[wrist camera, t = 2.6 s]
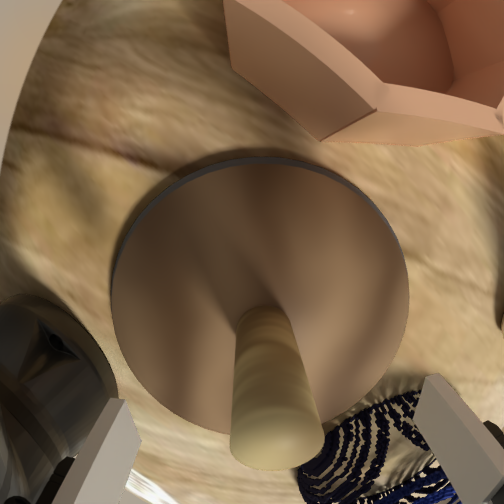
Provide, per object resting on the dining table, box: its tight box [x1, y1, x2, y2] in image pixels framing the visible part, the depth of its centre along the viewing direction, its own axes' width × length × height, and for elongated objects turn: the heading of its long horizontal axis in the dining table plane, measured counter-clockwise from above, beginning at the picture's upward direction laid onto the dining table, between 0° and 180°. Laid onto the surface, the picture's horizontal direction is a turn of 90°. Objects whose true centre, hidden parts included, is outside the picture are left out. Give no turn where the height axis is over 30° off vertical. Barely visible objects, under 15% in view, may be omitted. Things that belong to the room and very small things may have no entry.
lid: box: [111, 164, 409, 471], centre depth 15 cm, size 21×21×11 cm
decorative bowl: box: [297, 390, 462, 504], centre depth 18 cm, size 20×20×14 cm
